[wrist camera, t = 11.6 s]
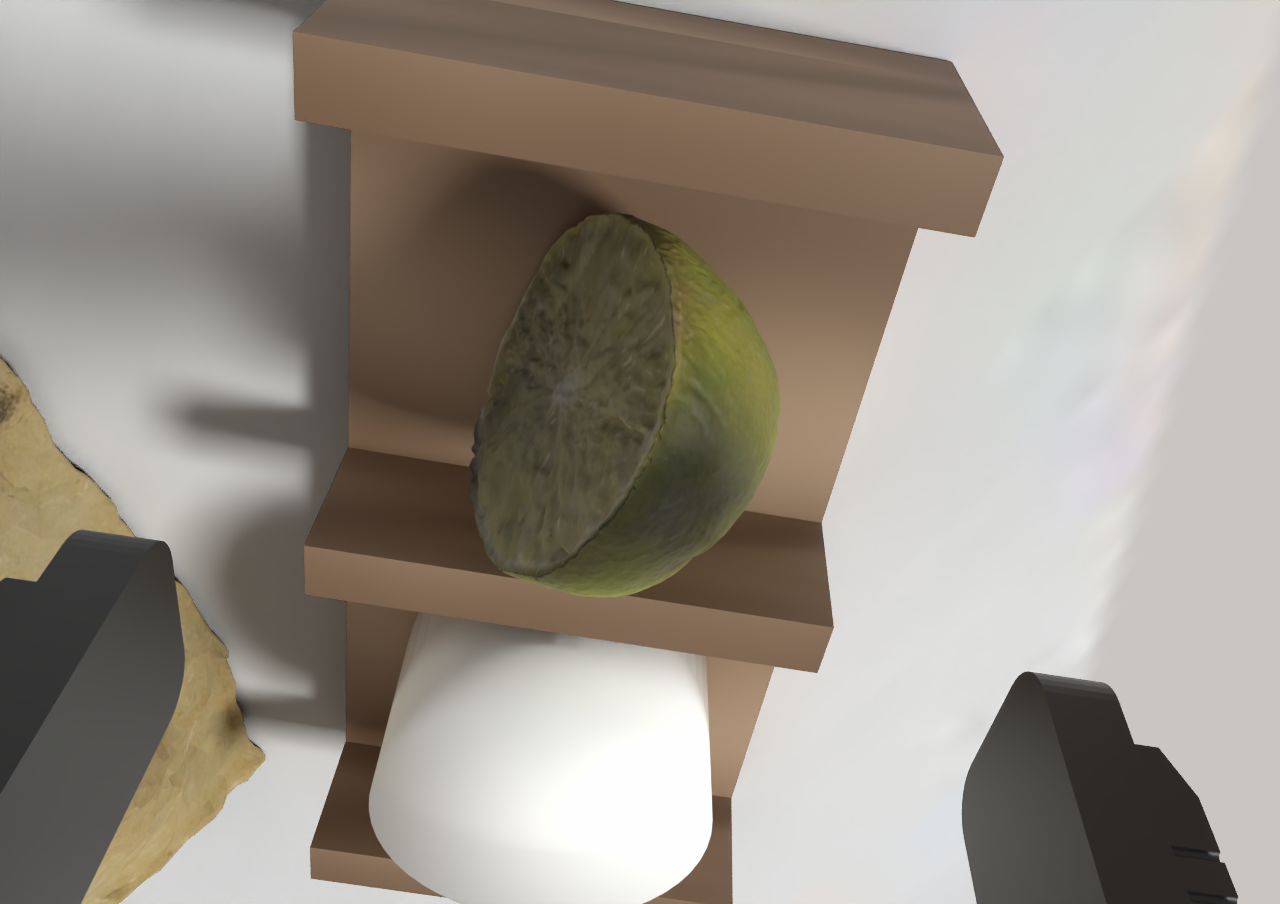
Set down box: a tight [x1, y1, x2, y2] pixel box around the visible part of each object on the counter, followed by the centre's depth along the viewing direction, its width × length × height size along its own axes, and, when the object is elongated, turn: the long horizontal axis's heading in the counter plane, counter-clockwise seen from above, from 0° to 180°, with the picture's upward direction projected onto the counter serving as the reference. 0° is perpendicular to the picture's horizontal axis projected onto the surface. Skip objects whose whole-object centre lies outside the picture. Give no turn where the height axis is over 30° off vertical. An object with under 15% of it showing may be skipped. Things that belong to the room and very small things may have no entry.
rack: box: [293, 0, 1004, 904], centre depth 19 cm, size 16×8×4 cm, turn 171°
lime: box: [469, 213, 781, 598], centre depth 15 cm, size 4×5×5 cm
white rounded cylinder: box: [369, 612, 713, 904], centre depth 20 cm, size 6×6×4 cm
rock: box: [0, 357, 265, 904], centre depth 20 cm, size 11×9×10 cm
